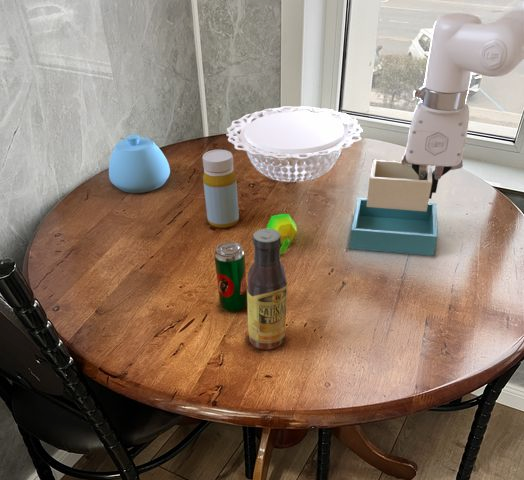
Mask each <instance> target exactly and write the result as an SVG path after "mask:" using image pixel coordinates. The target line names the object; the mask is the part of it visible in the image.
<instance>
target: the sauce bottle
mask: <svg viewBox="0 0 524 480" xmlns="http://www.w3.org/2000/svg"><path fill="white" fill-rule="evenodd" d="M252 244H253V246H254V257H253V263H252V265H251V266H250V267H249V270H248V272H247V275H246V282H247V333H248V338H249V342H250V344H251V345H252V346H253V347H254V348H256V349H257V350H258V349H259V350H263V351H264V350H266V351H267V350H269V351H270V350H274V349H277V348H279V347H280V346H281V345H282V344H283V342H284V341H285V335H286V331H287V330H286V329H287V296H288V295H287V293H288V289H287V288H288V283H287V282H288V281H287V276H286V273H285V272H286V271H285V268H284V265H283V264H282V262H281V255H280V248H281V235H280V233H279V232H278V231H276V230H274V229H267V228H261V229H258V230H256V231H254V233H253V235H252Z"/></svg>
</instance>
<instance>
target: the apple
mask: <svg viewBox="0 0 524 480" xmlns="http://www.w3.org/2000/svg"><path fill="white" fill-rule="evenodd" d="M297 227H298V226H297V224H296V222H295V221H294V220H293V218H292V217H291V215H290V214H289V213H279V214H275V215H271V217H270V219H269V221H268V223H267V225H266V229H274V230H276V231H278V232H279V233H280V235H281V244H280V247H279V256H281V255H283V254H284V253H285V252H286V251H287V250H288V249H289V248H290V246H291V244H292V243H293V239H294V237H295V235H296V234H297V231H298V230H297Z"/></svg>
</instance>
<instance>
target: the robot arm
mask: <svg viewBox="0 0 524 480" xmlns="http://www.w3.org/2000/svg"><path fill="white" fill-rule="evenodd" d="M523 60H524V0H521V1H520V2H518V3H517V4H516V5H515V6H513V7H512V8H511V9H509V10H508V11H507V12H506V13H504V14H502V15H501V16H500V17H499V18H497V19H496V20H495V21H492V22H489V23H482V20H481V19H480V17H479V16H476V15H475V14H471V13H463V12H454V13H446V14H443V15H440V16H439V17H438V18H437V19H436V20H435V22H434V24H433V28H432V32H431V40H430V45H429V52H428V56H427V63H426V69H425V75H424V83H423V86H421V87H420V88H417V89H416V88H415V89H414V91H413V98H415V99H416V98H417V99H419V101H417V104H416V106H415V108H414V111H413V114H412V119H411V122H410V127H409V130H408V135H407V140H406V146H405V147H406V148H405V151H404V153H403V155H402V156H401V157H402V158H401V160H400V161H401V163H402V165H405V166H408V167H411V168H413V170H414V171H415V172H416V173H417V174H418V176H419V180H427V171H426V165H431V166H432V167H433V166H434V169H433V170H432V186H431V191H430V196H429V200H431V199H432V197H433V194H436V193H437V189H438V184H439V180H440V179H441V178H442V176H444V175H446V174H447V173H449V172H450V171H455V170H459V169H462V168H463V166H464V164H463V157H464V153H465V147H466V141H467V136H468V130H469V123H470V122H469V121H470V107H469V105H468V104H467V100H468V94H469V89H470V85H471V81H472V77H473V76H472V75H473V74H477V75H480V76H482V77H485V78H486V77H487V78H492V79H493V78H494V79H495V78H501V77H504V76H506V75H509V74H510V73H511V72H512V71H514V70H515V69H516V68H517V66H518V65H519V64H521V62H522V61H523Z"/></svg>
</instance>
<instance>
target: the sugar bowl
mask: <svg viewBox="0 0 524 480" xmlns="http://www.w3.org/2000/svg"><path fill="white" fill-rule="evenodd" d="M170 174H171V169H170V164H169V162H168V159H167V157H166V155H165V154H164V153H163V151H162V150H161V149H160V148H159V147H158V145H157V144H156V143H155V141H153V140H152V139H151V138H148V137H144V136H140V135H139V134H136V133H133V134H128V135H127V136H125V138H124V139H121V140H120V141H118V142H117V143H116V144H115V146H114V148H113V150H112V152H111V155H110V158H109V164H108V177H109V181H110V182H111V184H112V185H113V186H115V188H117V189H119V190H120V191H122V192H125V193H128V194H129V193H130V194H142V193H148V192H152V191H155V190H157V189H159V188H161V187H162V186H164V185H165V184H166V182H167V180H168V179H169V177H170Z"/></svg>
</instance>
